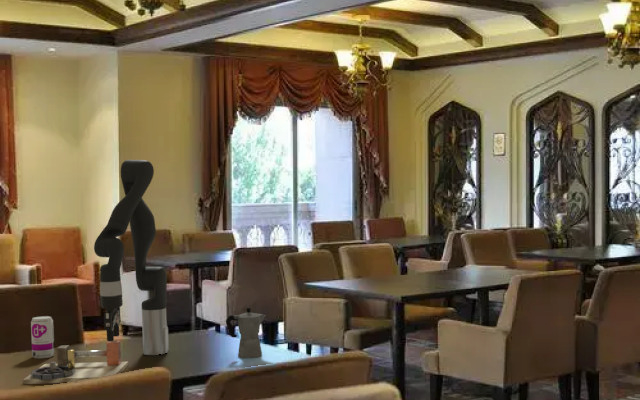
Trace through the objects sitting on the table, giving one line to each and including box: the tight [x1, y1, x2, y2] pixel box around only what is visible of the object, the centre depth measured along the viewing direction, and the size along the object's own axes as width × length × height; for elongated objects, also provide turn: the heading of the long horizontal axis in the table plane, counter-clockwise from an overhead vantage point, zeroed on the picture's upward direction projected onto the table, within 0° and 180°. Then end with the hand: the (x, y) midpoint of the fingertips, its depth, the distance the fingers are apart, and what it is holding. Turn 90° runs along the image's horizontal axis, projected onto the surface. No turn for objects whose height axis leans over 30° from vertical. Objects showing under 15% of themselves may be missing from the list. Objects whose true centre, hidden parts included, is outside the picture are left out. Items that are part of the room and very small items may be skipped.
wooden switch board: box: [22, 344, 129, 385], centre depth 308 cm, size 30×24×8 cm
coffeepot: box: [225, 307, 267, 359], centre depth 331 cm, size 15×9×18 cm, turn 110°
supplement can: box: [30, 315, 55, 359], centre depth 341 cm, size 8×8×15 cm
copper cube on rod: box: [74, 340, 122, 365], centre depth 316 cm, size 18×4×8 cm, turn 90°
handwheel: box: [30, 349, 76, 380], centre depth 302 cm, size 14×14×8 cm
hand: (113, 338), depth 316 cm, fingers open, 8 cm apart
